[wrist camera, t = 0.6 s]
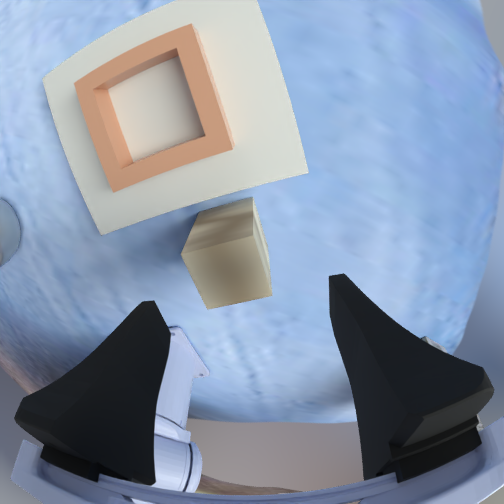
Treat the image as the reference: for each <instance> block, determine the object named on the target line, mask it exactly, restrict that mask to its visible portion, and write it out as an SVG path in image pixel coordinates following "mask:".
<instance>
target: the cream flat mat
mask: <svg viewBox="0 0 504 504" xmlns="http://www.w3.org/2000/svg"><path fill="white" fill-rule="evenodd" d="M191 23H192V25H193V26H194V27H195V28H196V29H197V31H198V33H199V35H200V38H201V41H202V44H203V47H204V50H205V53H206V56H207V59H208V62H209V65H210V68H211V71H212V74H213V77H214V80H215V83H216V86H217V89H218V93H219V96H220V99H221V102H222V105H223V108H224V111H225V114H226V117H227V120H228V123H229V127H230V130H231V133H232V136H233V139H234V142H235V146H234V149H233V150H230V151H227V152H223V153H220V154H217V155H214V156H210V157H207V158H204V159H201V160H198V161H195V162H192V163H189V164H186V165H183V166H181V167H178V168H175V169H172V170H169V171H167V172H164V173H161V174H159V175H156V176H153V177H151V178H148V179H146V180H143V181H141V182H138V183H136V184H133V185H131V186H128V187H126V188H124V189H121V190H119V191H117V192H114V193H113V191H112V189H111V187H110V184H109V182H108V179H107V177H106V175H105V172H104V170H103V167H102V165H101V162H100V160H99V157H98V154H97V152H96V149H95V146H94V144H93V141H92V138H91V135H90V133H89V130H88V127H87V124H86V121H85V118H84V115H83V112H82V109H81V106H80V102H79V99H78V96H77V92H76V89H75V86H74V83H75V82H76V81H78V80H79V79H81V78H82V77H84V76H85V75H87V74H88V73H90V72H91V71H93V70H95V69H96V68H98V67H100V66H101V65H103V64H105V63H106V62H108V61H110V60H112V59H113V58H115V57H117V56H119V55H121V54H123V53H125V52H126V51H128V50H130V49H132V48H134V47H136V46H138V45H140V44H143V43H145V42H147V41H149V40H151V39H153V38H156V37H158V36H160V35H163V34H165V33H167V32H170V31H172V30H175V29H178V28H180V27H183V26H186V25H188V24H191ZM42 79H43V84H44V88H45V91H46V95H47V99H48V102H49V106H50V109H51V113H52V116H53V119H54V123H55V126H56V129H57V132H58V135H59V138H60V141H61V143H62V146H63V149H64V152H65V154H66V157H67V160H68V162H69V165H70V167H71V170H72V172H73V175H74V177H75V180H76V182H77V185H78V187H79V189H80V192H81V194H82V196H83V198H84V201H85V203H86V205H87V207H88V209H89V211H90V214H91V216H92V218H93V220H94V222H95V224H96V226H97V228H98V230H99V232H100V234H101V236H102V235H104V234H107V233H110V232H113V231H115V230H118V229H121V228H124V227H126V226H129V225H132V224H135V223H138V222H141V221H143V220H146V219H149V218H152V217H155V216H158V215H161V214H164V213H167V212H170V211H173V210H176V209H180V208H183V207H186V206H189V205H192V204H196V203H199V202H202V201H205V200H209V199H212V198H215V197H219V196H222V195H226V194H229V193H233V192H236V191H240V190H244V189H247V188H251V187H255V186H258V185H262V184H266V183H270V182H274V181H278V180H281V179H285V178H290V177H294V176H298V175H302V174H306V173H309V172H308V168H307V163H306V159H305V155H304V151H303V147H302V143H301V139H300V135H299V131H298V127H297V123H296V120H295V116H294V112H293V109H292V105H291V101H290V98H289V94H288V91H287V88H286V84H285V81H284V78H283V74H282V71H281V68H280V65H279V62H278V59H277V55H276V52H275V49H274V46H273V43H272V41H271V38H270V35H269V32H268V29H267V26H266V23H265V21H264V18H263V15H262V13H261V10H260V7H259V5H258V2H257V0H176V1H173V2H171V3H168V4H166V5H163V6H161V7H159V8H156V9H154V10H152V11H149V12H147V13H145V14H143V15H141V16H139V17H137V18H135V19H133V20H131V21H129V22H127V23H125V24H123V25H121V26H119V27H117V28H115V29H114V30H112V31H110V32H108V33H107V34H105V35H103V36H101V37H100V38H98V39H97V40H95V41H93V42H92V43H90V44H89V45H87V46H85V47H84V48H82V49H81V50H79V51H78V52H76V53H75V54H74V55H72V56H71V57H69V58H68V59H67V60H65V61H64V62H62V63H61V64H60V65H58V66H57V67H56V68H55V69H53V70H52V71H51V72H49V73H48V74H47V75H46V76H45V77H43V78H42ZM108 92H109V95H110V98H111V101H112V104H113V107H114V110H115V113H116V116H117V119H118V122H119V124H120V127H121V130H122V133H123V136H124V138H125V141H126V144H127V146H128V149H129V152H130V154H131V157H132V160H133V162H134V161H137V160H139V159H141V158H144V157H146V156H149V155H151V154H153V153H156V152H158V151H161V150H164V149H166V148H169V147H171V146H174V145H177V144H179V143H182V142H185V141H188V140H190V139H193V138H196V137H199V136H202V135H205V132H204V129H203V126H202V123H201V120H200V117H199V114H198V111H197V108H196V105H195V102H194V99H193V96H192V93H191V90H190V87H189V84H188V81H187V78H186V75H185V72H184V69H183V66H182V63H181V60H180V57H179V56H177V57H174V58H172V59H170V60H167V61H165V62H162V63H160V64H158V65H155V66H153V67H151V68H149V69H147V70H144V71H142V72H140V73H138V74H136V75H134V76H132V77H130V78H128V79H126V80H124V81H122V82H120V83H118V84H117V85H115V86H113V87H111V88H109V89H108Z"/></svg>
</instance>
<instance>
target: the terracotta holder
mask: <svg viewBox="0 0 504 504" xmlns="http://www.w3.org/2000/svg"><path fill="white" fill-rule="evenodd" d="M177 56H179V57H180V60H181V63H182V66H183V69H184V72H185V75H186V78H187V81H188V84H189V87H190V90H191V93H192V96H193V99H194V102H195V105H196V108H197V111H198V114H199V117H200V120H201V123H202V126H203V129H204V132H205V135H202V136H199V137H196V138H193V139H190V140H188V141H185V142H182V143H179V144H177V145H174V146H171V147H169V148H166V149H164V150H161V151H158V152H156V153H153V154H151V155H149V156H146V157H144V158H141V159H139V160H137V161H134V162H133V160H132V157H131V154H130V152H129V149H128V146H127V144H126V141H125V138H124V136H123V133H122V130H121V127H120V124H119V122H118V119H117V116H116V113H115V110H114V107H113V104H112V101H111V98H110V95H109V92H108V89H109V88H111V87H113V86H115V85H117V84H118V83H120V82H122V81H124V80H126V79H128V78H130V77H132V76H134V75H136V74H138V73H140V72H142V71H144V70H147V69H149V68H151V67H153V66H155V65H158V64H160V63H162V62H165V61H167V60H170V59H172V58H174V57H177ZM74 86H75V89H76V92H77V96H78V99H79V102H80V106H81V109H82V112H83V115H84V118H85V121H86V124H87V127H88V130H89V133H90V135H91V138H92V141H93V144H94V146H95V149H96V152H97V154H98V157H99V160H100V162H101V165H102V167H103V170H104V172H105V175H106V177H107V179H108V182H109V184H110V187H111V189H112V191H113V193H114V192H117V191H119V190H121V189H124V188H126V187H128V186H131V185H133V184H136V183H138V182H141V181H143V180H146V179H148V178H151V177H153V176H156V175H159V174H161V173H164V172H167V171H169V170H172V169H175V168H178V167H181V166H183V165H186V164H189V163H192V162H195V161H198V160H201V159H204V158H207V157H210V156H214V155H217V154H220V153H223V152H227V151H230V150H233V149H234V146H235V142H234V139H233V136H232V133H231V130H230V127H229V123H228V120H227V117H226V114H225V111H224V108H223V105H222V102H221V99H220V96H219V93H218V89H217V86H216V83H215V80H214V77H213V74H212V71H211V68H210V65H209V62H208V59H207V56H206V53H205V50H204V47H203V44H202V41H201V38H200V35H199V33H198V31H197V29H196V28H195V27H194V26H193V25H192V23H191V24H188V25H186V26H183V27H180V28H178V29H175V30H172V31H170V32H167V33H165V34H163V35H160V36H158V37H156V38H153V39H151V40H149V41H147V42H145V43H143V44H140V45H138V46H136V47H134V48H132V49H130V50H128V51H126V52H125V53H123V54H121V55H119V56H117V57H115V58H113V59H112V60H110V61H108V62H106V63H105V64H103V65H101V66H100V67H98V68H96V69H95V70H93V71H91V72H90V73H88V74H87V75H85V76H84V77H82V78H81V79H79V80H78V81H76V82H75V83H74Z"/></svg>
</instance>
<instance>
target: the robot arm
mask: <svg viewBox="0 0 504 504" xmlns="http://www.w3.org/2000/svg"><path fill="white" fill-rule="evenodd" d="M329 304H330V318H331V323H332V327H333V332H334V336H335V339H336V342H337V345H338V348H339V351H340V354H341V357H342V360H343V363H344V366H345V369H346V372H347V375H348V378H349V381H350V385H351V388H352V393H353V398H354V404H355V409H356V415H357V421H358V427H359V435H360V443H361V451H362V462H363V476H364V481H361V482H357V483H353V484H348V485H343V486H338V487H333V488H327V489H321V490H315V491H307V492H299V493H289V494H276V495H213V494H200V493H194V492H195V491H196V489H197V487H198V484H199V481H200V477H201V471H202V456H201V453H200V451H199V449H198V447H197V445H196V444H195V443H194V442H191V441H190V435H191V432H189V431H186V430H185V429H186V422H187V416H188V409H189V403H190V397H191V390H192V384H193V378H199V377H207V376H209V375H210V372H209V370H208V369H207V367H206V366H205V364H204V363H203V361H202V360H201V358H200V357H199V355H198V354H197V352H196V351H195V349H194V348H193V346H192V345H191V343H190V342H189V340H188V339H187V337H186V335H185V334H184V332H183V331H182V329H180V328H178V327H174V328H168V326H167V325H166V323H165V321H164V319H163V317H162V315H161V313H160V311H159V309H158V307H157V305H156V303H155V301H144V302H141V303H140V304H139V305H138V306H137V307H136V308H135V309H134V310H133V311H132V312H131V313H130V314H129V315H128V316H127V317H126V318H125V319H124V321H123V322H122V323H121V324H120V325H119V326H118V327H117V328H116V329H115V330H114V331H113V332H112V333H111V334H110V335H109V336H108V337H107V338H106V339H105V340H104V341H103V342H102V343H101V344H100V345H99V346H98V347H97V348H96V349H95V350H94V351H93V352H92V353H91V354H90V355H89V356H88V357H87V358H85V359H84V360H83V361H82V362H81V363H80V364H78V365H77V366H76V367H74V368H73V369H72V370H70V371H69V372H68V373H66V374H65V375H64V376H62V377H61V378H59V379H58V380H56V381H55V382H53V383H51V384H50V385H48V386H46V387H44V388H43V389H41V390H39V391H37V392H35V393H32V394H30V395H28V396H26V397H24V398H23V399H22V401H21V403H20V406H19V408H18V410H17V412H16V415H15V417H14V419H15V421H16V423H17V424H18V425H20V427H21V428H23V429H24V430H25V431H26V432H28V433H29V434H30V435H32V436H33V437H35V438H36V439H37V440H39V441H40V442H42V443H43V444H44V446H43V449H42V448H40V447H38V446H36V445H34V444H32V443H30V442H28V441H26V440H23V442H22V444H21V447H20V450H19V453H18V456H17V459H16V462H15V465H14V469H13V472H12V475H11V480H12V481H13V482H14V483H16V484H17V485H18V486H20V487H21V488H23V489H24V490H25V491H27V492H28V493H29V494H31V495H32V496H33V497H35V498H36V499H38V500H39V501H40V502H42V503H43V504H347V503H352V502H356V501H360V500H361V501H360V502H359V503H358V504H478V503H480V502H481V501H483V500H484V499H486V498H487V497H488V496H490V495H491V494H493V493H494V492H496V491H497V490H498V489H500V488H501V487H502V486H504V416H503V417H501V418H500V419H498V420H497V421H495V422H493V423H492V424H490V425H488V426H487V427H485V428H484V429H482V430H481V431H480V432H478V430H477V428H476V426H477V425H478V424H479V420H478V417H477V414H478V413H479V412H480V411H481V409H482V408H483V407H484V406H485V405H486V404H487V403H488V402H489V400H490V399H491V398H492V396H493V393H494V388H493V386H492V384H491V382H490V380H489V378H488V376H487V374H486V372H485V371H484V369H483V368H482V367H480V366H477V365H475V364H472V363H469V362H467V361H464V360H461V359H459V358H456V357H454V356H452V355H450V354H448V353H446V352H443V351H441V350H440V349H438V348H436V347H434V346H432V345H430V344H429V343H427V342H425V341H423V340H422V339H420V338H418V337H417V336H415V335H414V334H412V333H411V332H409V331H408V330H406V329H405V328H404V327H402V326H401V325H399V324H398V323H397V322H396V321H394V320H393V319H392V318H391V317H389V316H388V315H387V314H386V313H385V312H383V311H382V310H381V309H380V308H379V307H378V306H377V305H376V304H375V303H373V302H372V301H371V300H370V299H369V298H368V297H367V296H366V295H365V294H364V293H363V292H362V291H361V290H360V289H359V288H358V287H357V286H356V285H355V284H354V283H353V282H352V281H351V280H350V279H349V278H348V277H347V276H346V275H345V274H338V275H332V276H329ZM172 332H173V333H172Z"/></svg>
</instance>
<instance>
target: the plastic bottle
mask: <svg viewBox="0 0 504 504" xmlns="http://www.w3.org/2000/svg"><path fill="white" fill-rule="evenodd" d="M20 236H21V231H20V224H19V221H18V218H17V216H16V213H15V212H14V210H13V208H12V207H11V206H10V205H9V204H8V203H7V202H6V201H4V200H1V199H0V267H1V266H3V265H4V264H5V263H7V262H8V261H9V260H10V259H11V258H12V256H13V255H14V254H15V252H16V251H17V249H18V246H19V241H20Z"/></svg>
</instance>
